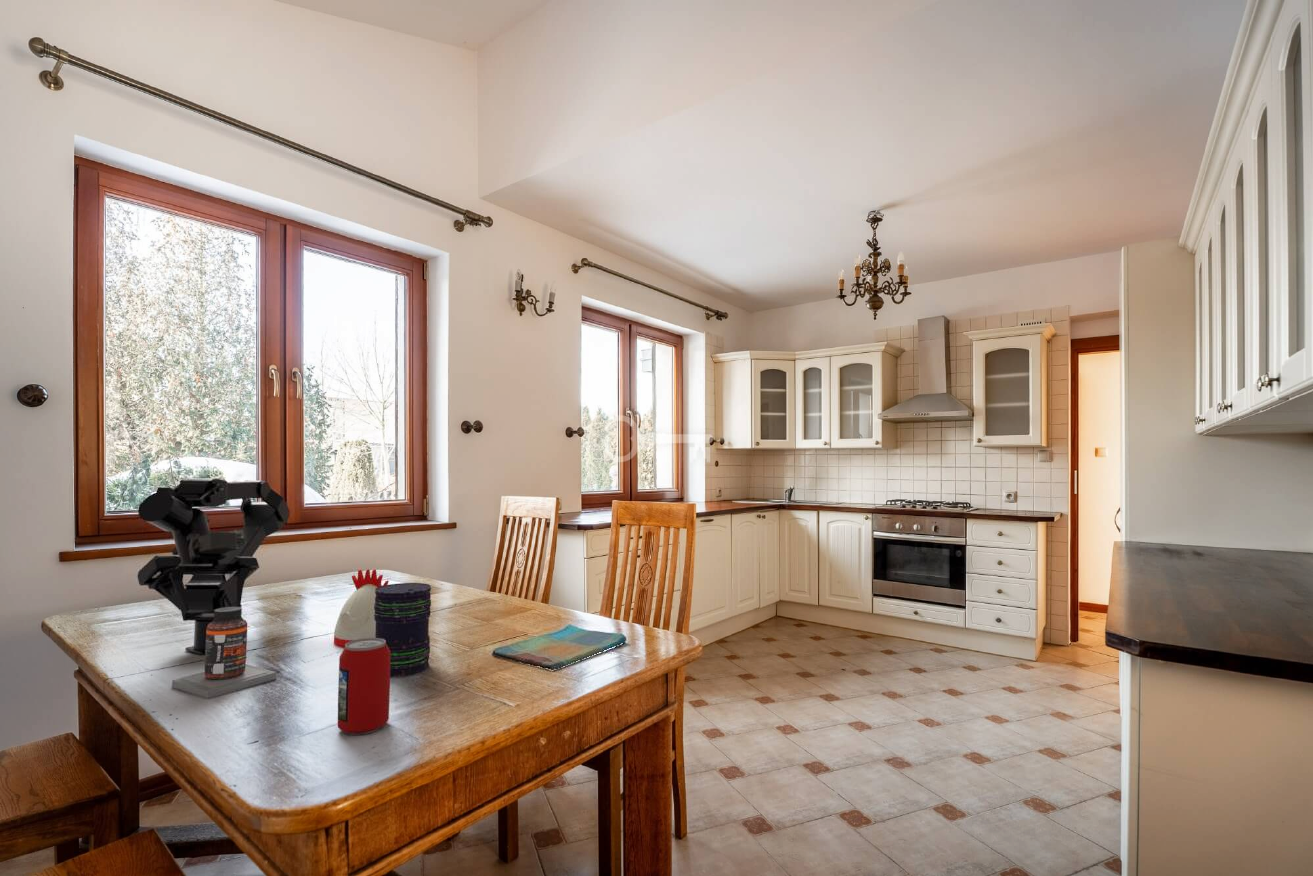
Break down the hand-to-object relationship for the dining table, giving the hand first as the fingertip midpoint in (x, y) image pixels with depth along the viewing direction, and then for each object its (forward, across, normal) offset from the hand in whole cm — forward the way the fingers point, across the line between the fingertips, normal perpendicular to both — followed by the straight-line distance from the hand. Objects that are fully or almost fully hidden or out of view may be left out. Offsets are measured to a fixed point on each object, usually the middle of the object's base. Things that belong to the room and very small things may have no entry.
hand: (212, 609), depth 117 cm
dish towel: (+35, +40, -36) cm, 65 cm away
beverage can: (+37, -5, -29) cm, 47 cm away
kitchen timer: (+11, +30, -2) cm, 32 cm away
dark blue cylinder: (+25, +17, -19) cm, 36 cm away
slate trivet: (+14, -1, 0) cm, 14 cm away
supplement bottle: (+13, -2, -1) cm, 13 cm away
